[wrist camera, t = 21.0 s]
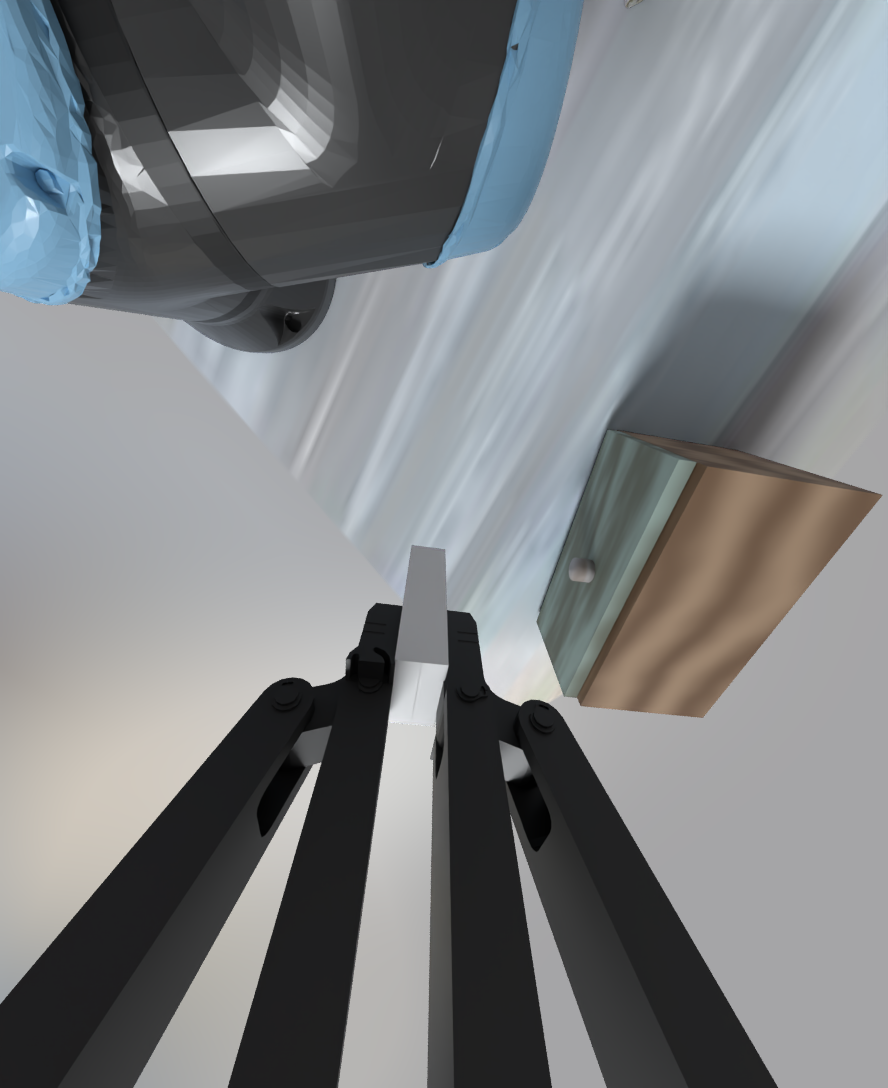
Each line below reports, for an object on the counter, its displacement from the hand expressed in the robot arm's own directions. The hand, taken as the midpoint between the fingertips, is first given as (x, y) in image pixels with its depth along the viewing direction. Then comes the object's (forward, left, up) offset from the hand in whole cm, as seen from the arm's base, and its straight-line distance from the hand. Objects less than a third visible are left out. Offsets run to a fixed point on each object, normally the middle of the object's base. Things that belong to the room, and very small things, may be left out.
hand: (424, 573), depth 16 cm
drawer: (+8, +24, -23) cm, 34 cm away
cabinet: (+8, +26, -24) cm, 37 cm away
